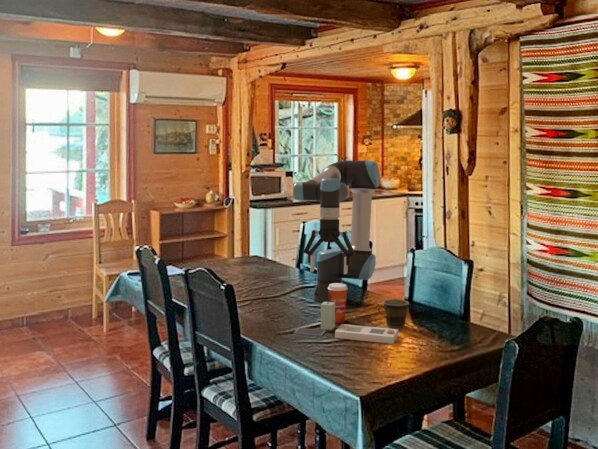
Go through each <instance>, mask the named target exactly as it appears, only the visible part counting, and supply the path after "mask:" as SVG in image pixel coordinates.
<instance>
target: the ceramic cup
mask: <svg viewBox="0 0 598 449" xmlns="http://www.w3.org/2000/svg"><path fill="white" fill-rule="evenodd" d="M409 306H410V302H409V301H408V300H406V299H405V300H404V299H398V298H397V299H395V298H393V299H386V300H384V301H383V305H379V306H378V308H377V311H378V313H380V314H381V315H382V317H384V318H385V321H386V328H389V329H398V330H402V329H404V327H405V326H406V321H407V315H408V311H409ZM381 308H383V309H384V313H383V312H381V310H380V309H381Z"/></svg>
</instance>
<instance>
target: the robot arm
mask: <svg viewBox="0 0 598 449" xmlns="http://www.w3.org/2000/svg"><path fill="white" fill-rule="evenodd" d="M380 173H381V172H380V168H379V165H378V163H377V162H376V161H374V160H348V159H347V160H341V161H337V162H333V163H331V164H329V165H327V166H326V167H325V166H324V168H323V169H322V170H321V172H320V173H318V174H317V175H315V176H313V177H312V178H310V179H309V180H307V181H304V182H303V181H299V182H295V183H294V185H293V188H292V196H293V198H294V200H296V201H302V202H319V203H320V205H319V207H320V208H319V217H320V219H319V230H317V229H312V231H311V235H310V238H309V240H308V242H307V244H306V245H305V247H304V249H303V254H306V255H307V263H308V264H310V266H309V272H310V273H313V272H314V271H315V254H314V252H316V250H317V249H318V248H319V247H320V246H321V245H322V243H323V242H324V243H332V244H333V243H334V244H336V245H337V247H338V248H331V249H330V248H329V249H325V250H321V251H319V252H318V253H317V255H316V258H317V259H316V285H315V288H314V290H313V293H312V294H313V295H312V299H313V301H315V302H317V303H318V302H319V303H323V302H329V291H328V286H329V284H333V283H342V284H343V279H350V280H359V281H361V280H364V281H367V280H371V278H372V277H373V274H374V271H375V269H376V264H377V260H376V255H375V254H373V249H371V247H370V239H371V238H370V236H371V235H370V234H371V220H372V219H371V217H372V197H373V193H375V192H376V188H378V187H379V186H380V185H381V174H380ZM350 191H351V193H352V205H351V206H352V208H351V226H350V238H349V237H348V231H347V230H345V231H340V219H339V218H340V207H341V206H340V203H341V202H344V201H346V200H347V199H348V198H349V196H350ZM318 235H319V237H320V238H319V239H318V240H317V242H316V243H315V244H314V245H313V243H314V241H315V239H316V237H317V236H318ZM339 237H341V238H343V240H344V244H345V245H346V247H345V245H344V244H343V243H342V241H341V239H340V238H339ZM312 245H313V246H312ZM311 247H312V248H311ZM310 248H311V249H310Z"/></svg>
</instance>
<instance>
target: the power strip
mask: <svg viewBox="0 0 598 449" xmlns="http://www.w3.org/2000/svg"><path fill="white" fill-rule="evenodd" d="M398 337H399V329H390V328H388V327H377V326H367V325H366V326H365V325H357V324H345V323H341V324H340V325H339V327H338V328H337V329H335V331H334V339H343V340H351V341H362V342H371V343H372V342H373V343H382V344H393V345H394V344H395V342H396V340H397V338H398Z"/></svg>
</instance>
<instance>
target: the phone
mask: <svg viewBox="0 0 598 449" xmlns="http://www.w3.org/2000/svg"><path fill="white" fill-rule="evenodd" d="M326 332H327V330H323V329H314V328H304V327H298V328H297V329H295V331H294V332H293V334H297V335H306V336H316V337H322V336H323V335H324V334H325V333H326Z"/></svg>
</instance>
